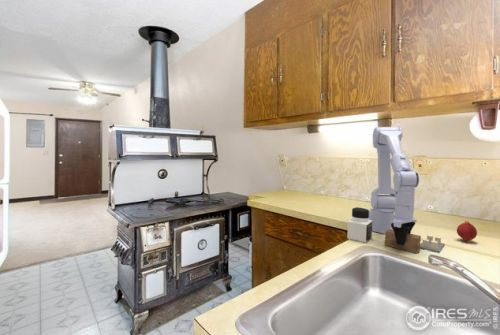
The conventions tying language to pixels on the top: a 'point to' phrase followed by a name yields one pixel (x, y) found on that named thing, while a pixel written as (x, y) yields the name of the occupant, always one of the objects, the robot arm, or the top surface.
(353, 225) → the medicine bottle
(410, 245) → the wooden block
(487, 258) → the top surface
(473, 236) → the onion
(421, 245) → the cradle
